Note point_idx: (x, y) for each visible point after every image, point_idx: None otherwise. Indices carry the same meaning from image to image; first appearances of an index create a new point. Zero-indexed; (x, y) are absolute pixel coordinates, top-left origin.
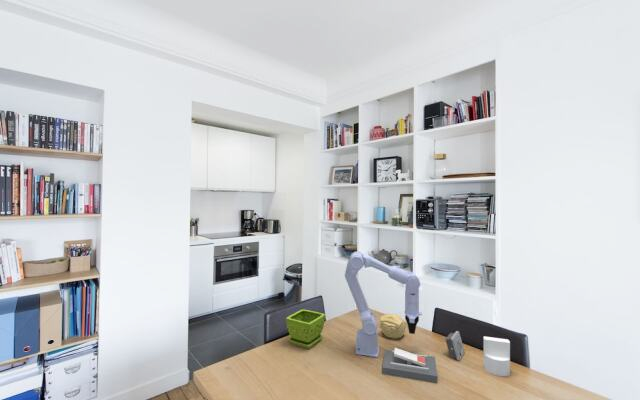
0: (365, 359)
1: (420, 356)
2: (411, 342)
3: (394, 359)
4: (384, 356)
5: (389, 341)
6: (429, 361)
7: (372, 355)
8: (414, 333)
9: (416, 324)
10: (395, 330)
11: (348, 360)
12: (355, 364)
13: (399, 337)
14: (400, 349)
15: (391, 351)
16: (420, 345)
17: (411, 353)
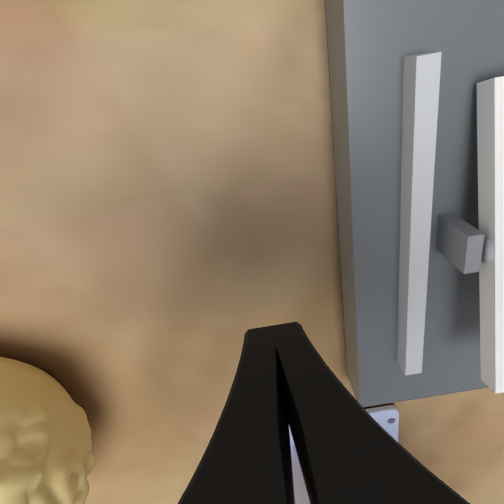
0: (433, 442)
1: (494, 131)
2: (23, 261)
3: None
4: (465, 389)
5: (127, 399)
6: (475, 19)
7: (396, 432)
8: (300, 325)
9: (440, 481)
10: (58, 451)
11: (464, 492)
12: (497, 461)
13: (28, 364)
14: (498, 342)
15: (373, 369)
16: (23, 176)
17: (502, 232)
